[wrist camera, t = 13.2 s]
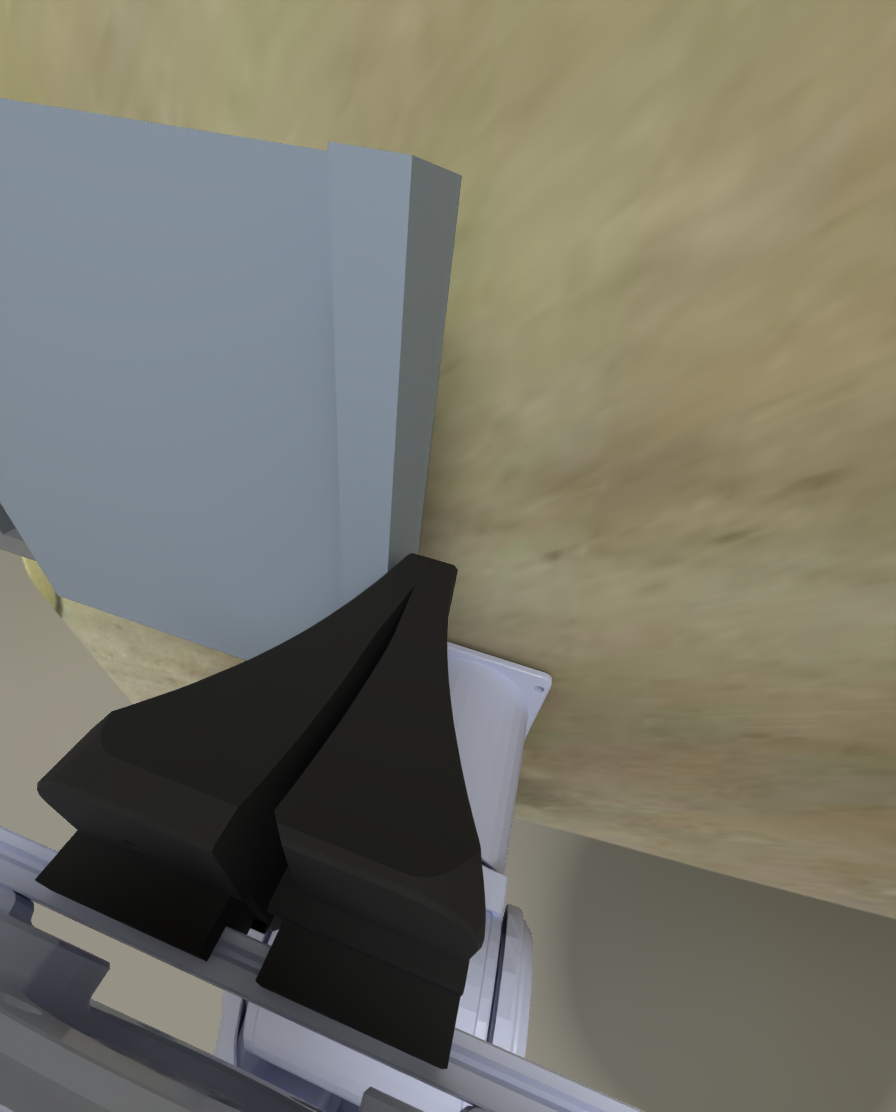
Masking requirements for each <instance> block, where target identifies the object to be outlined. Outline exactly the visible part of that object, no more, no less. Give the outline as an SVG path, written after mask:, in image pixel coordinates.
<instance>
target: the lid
mask: <svg viewBox="0 0 896 1112" xmlns="http://www.w3.org/2000/svg"><path fill="white" fill-rule="evenodd" d="M461 179H462V176H461V175H459V174H456V173H454V172H452V171H449V170H447V169H444V168H442V167H440V166H437V165H435V164H432V163H430V162H428V161H425V160H423V159H420V158H418V157H416V156H413V155H408V154H402V153H396V152H389V151H383V150H377V149H371V148H364V147H358V146H352V145H345V144H339V143H333V142H328V151H325V150H319V149H312V148H306V147H300V146H294V145H288V144H281V143H275V142H269V141H263V140H257V139H251V138H244V137H238V136H232V135H226V134H220V133H213V132H207V131H201V130H195V129H189V128H182V127H176V126H170V125H164V124H158V123H152V122H145V121H139V120H133V119H127V118H121V117H114V116H108V115H102V114H96V113H90V112H84V111H77V110H71V109H65V108H59V107H53V106H46V105H40V104H34V103H28V102H22V101H15V100H9V99H3V98H0V503H1V505H2V506H3V508H4V510H5V511H6V513H7V514H8V516H9V518H10V519H11V521H12V522H13V524H14V526H15V527H16V529H17V530H18V532H19V534H20V535H21V537H22V538H23V540H24V542H25V543H26V545H27V546H28V548H29V550H30V551H31V553H32V554H33V556H34V558H35V559H36V561H37V562H38V564H39V566H40V567H41V569H42V570H43V572H44V574H45V575H46V577H47V579H48V580H49V582H50V583H51V585H52V587H53V588H54V590H55V591H56V593H57V595H58V596H61V597H64V598H67V599H70V600H73V601H76V602H79V603H81V604H84V605H87V606H90V607H93V608H96V609H99V610H102V611H105V612H107V613H110V614H113V615H116V616H119V617H122V618H125V619H128V620H131V621H134V622H136V623H139V624H142V625H145V626H148V627H151V628H154V629H157V630H160V631H163V632H165V633H168V634H171V635H174V636H177V637H180V638H183V639H186V640H189V641H191V642H194V643H197V644H200V645H203V646H206V647H209V648H212V649H215V650H218V651H220V652H223V653H226V654H229V655H232V656H235V657H238V658H241V659H244V660H249V659H251V658H253V657H255V656H257V655H259V654H261V653H263V652H265V651H267V650H269V649H271V648H273V647H275V646H277V645H279V644H281V643H283V642H285V641H287V640H289V639H290V638H292V637H294V636H296V635H298V634H299V633H301V632H303V631H305V630H306V629H308V628H310V627H311V626H313V625H315V624H316V623H318V622H319V621H321V620H323V619H324V618H326V617H327V616H329V615H330V614H332V613H333V612H335V611H336V610H338V609H339V608H341V607H342V606H344V605H345V604H347V603H348V602H349V601H351V600H352V599H354V598H355V597H356V596H358V595H359V594H360V593H362V592H363V591H364V590H366V589H367V588H368V587H370V586H371V585H372V584H374V583H375V582H376V581H377V580H379V579H380V578H381V577H382V576H384V575H385V574H386V573H387V572H388V571H390V570H391V569H392V568H393V567H394V566H396V565H397V564H398V563H399V562H400V561H401V560H402V559H404V558H405V557H406V556H407V555H409V554H411V553H414V554H417V555H418V550H419V542H420V533H421V524H422V516H423V507H424V499H425V490H426V481H427V473H428V464H429V455H430V447H431V438H432V429H433V421H434V412H435V403H436V395H437V386H438V378H439V369H440V360H441V352H442V343H443V334H444V326H445V317H446V308H447V300H448V291H449V283H450V274H451V265H452V257H453V248H454V239H455V231H456V222H457V213H458V205H459V196H460V187H461Z"/></svg>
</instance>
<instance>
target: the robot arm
mask: <svg viewBox="0 0 896 1112" xmlns="http://www.w3.org/2000/svg"><path fill="white" fill-rule="evenodd" d="M457 571H458V570H457V568H456V567H455V566H454V565H451V564H448V563H445V562H441V561H438V560H434V559H431V558H428V557H424V556H421V555H417V554H414V553H411V554H409V555H407V556H406V557H405V558H404V559H402V560H401V561H400V562H399V563H398V564H397V565H396V566H394V567H393V568H392V569H391V570H390V571H388V572H387V573H386V574H385V575H384V576H382V577H381V578H380V579H379V580H377V581H376V582H375V583H374V584H372V585H371V586H370V587H368V588H367V589H366V590H364V591H363V592H362V593H360V594H359V595H358V596H356V597H355V598H354V599H352V600H351V601H349V602H348V603H347V604H345V605H344V606H342V607H341V608H339V609H338V610H336V611H335V612H333V613H332V614H330V615H329V616H327V617H326V618H324V619H323V620H321V621H319V622H318V623H316V624H315V625H313V626H311V627H310V628H308V629H306V630H305V631H303V632H301V633H299V634H298V635H296V636H294V637H292V638H290V639H289V640H287V641H285V642H283V643H281V644H279V645H277V646H275V647H273V648H271V649H269V650H267V651H265V652H263V653H261V654H259V655H257V656H255V657H253V658H251V659H249V660H247V661H245V662H243V663H240V664H238V665H236V666H234V667H231V668H229V669H226V670H224V671H222V672H219V673H217V674H214V675H212V676H210V677H207V678H205V679H202V680H200V681H198V682H195V683H193V684H190V685H188V686H185V687H182V688H180V689H177V690H174V691H171V692H168V693H165V694H162V695H159V696H157V697H154V698H151V699H148V700H145V701H142V702H139V703H136V704H133V705H131V706H128V707H125V708H121V709H118V710H115V711H112V712H111V713H110V714H108V715H107V716H106V717H105V718H104V719H103V720H102V721H100V722H99V723H98V724H97V725H96V726H95V727H94V728H92V729H91V730H90V731H89V732H88V733H87V734H86V735H85V736H84V737H83V738H82V739H81V740H80V741H79V742H78V743H77V744H76V745H75V746H74V747H73V748H72V749H71V750H70V751H69V752H68V753H67V754H66V755H65V756H64V757H63V758H62V759H61V760H60V761H59V762H58V763H57V764H56V765H55V766H54V767H53V768H52V769H51V770H50V771H49V772H48V773H47V774H46V775H45V776H44V777H43V778H42V779H41V780H40V781H39V782H38V785H37V790H38V793H39V795H40V796H41V797H42V798H43V799H44V800H45V801H46V802H47V803H48V804H49V805H50V806H51V807H52V808H53V809H54V810H56V811H57V812H58V813H59V814H60V815H61V816H63V818H65V819H66V820H67V821H68V822H69V823H70V824H71V825H73V826H74V827H75V828H76V829H77V830H78V831H77V832H76V833H75V834H74V835H73V836H72V837H71V839H70V840H69V841H68V842H67V843H66V844H65V845H64V847H63V848H62V849H61V850H60V851H59V852H58V851H55V850H53V849H51V848H48V847H46V846H44V845H42V844H40V843H37V842H35V841H33V840H31V839H28V838H26V837H24V836H21V835H19V834H17V833H14V832H12V831H10V830H8V829H6V828H3V827H1V826H0V1112H645V1111H643V1110H641V1109H638V1108H636V1107H634V1106H632V1105H629V1104H627V1103H625V1102H623V1101H620V1100H618V1099H616V1098H614V1097H611V1096H609V1095H607V1094H604V1093H602V1092H600V1091H598V1090H595V1089H593V1088H591V1087H589V1086H586V1085H584V1084H582V1083H580V1082H577V1081H575V1080H573V1079H571V1078H568V1077H566V1076H564V1075H562V1074H559V1073H557V1072H555V1071H553V1070H550V1069H548V1068H546V1067H544V1066H541V1065H539V1064H537V1063H534V1062H532V1061H530V1060H528V1059H525V1052H526V1043H527V1033H528V1024H529V1013H530V1000H531V986H532V967H533V966H532V965H533V942H532V941H533V940H532V933H531V931H530V929H529V927H528V925H527V923H526V921H525V920H524V919H523V912H522V910H521V909H520V908H519V907H516V906H513V905H510V904H507V905H506V908H505V912H504V916H503V911H504V904H505V897H506V890H507V883H508V877H507V876H506V875H504V873H505V866H506V859H507V853H508V846H509V840H510V833H511V827H512V820H513V813H514V807H515V800H516V793H517V787H518V780H519V773H520V767H521V760H522V753H523V746H524V740H525V738H526V736H527V734H528V732H529V730H530V728H531V726H532V724H533V722H534V720H535V718H536V716H537V714H538V712H539V710H540V708H541V706H542V704H543V702H544V700H545V698H546V696H547V694H548V692H549V690H550V688H551V684H552V678H551V676H550V675H549V674H547V673H545V672H542V671H538V670H535V669H532V668H529V667H526V666H523V665H519V664H516V663H513V662H510V661H507V660H504V659H500V658H497V657H494V656H491V655H488V654H485V653H482V652H478V651H475V650H472V649H469V648H466V647H463V646H459V645H456V644H453V643H450V642H447V628H448V615H449V610H450V605H451V601H452V596H453V591H454V586H455V581H456V576H457ZM31 900H32V901H34V902H36V903H38V904H40V905H42V906H44V907H47V908H49V909H51V910H53V911H56V912H57V913H59V914H62V915H64V916H66V917H68V918H70V919H72V920H75V921H77V922H79V923H81V924H83V925H85V926H88V927H90V928H92V929H94V930H96V931H98V932H100V933H103V934H105V935H107V936H109V937H111V938H113V939H115V940H118V941H120V942H122V943H124V944H126V945H128V946H130V947H133V948H135V949H137V950H139V951H141V952H144V953H146V954H148V955H150V956H152V957H154V958H156V959H158V960H161V961H163V962H165V963H167V964H169V965H171V966H174V967H176V968H178V969H180V970H182V971H184V972H187V973H189V974H191V975H193V976H195V977H197V978H199V979H202V980H204V981H206V982H208V983H210V984H212V985H214V986H217V987H219V988H221V989H223V995H222V1014H221V1021H220V1027H219V1031H218V1036H217V1041H216V1045H215V1049H214V1053H213V1055H211V1054H209V1053H207V1052H205V1051H203V1050H201V1049H198V1048H196V1047H194V1046H192V1045H190V1044H188V1043H186V1042H184V1041H181V1040H179V1039H177V1038H175V1037H173V1036H170V1035H168V1034H166V1033H164V1032H162V1031H160V1030H158V1029H155V1028H153V1027H151V1026H149V1025H147V1024H145V1023H142V1022H140V1021H138V1020H136V1019H134V1018H132V1017H129V1016H127V1015H125V1014H123V1013H121V1012H119V1011H116V1010H114V1009H112V1008H110V1007H108V1006H105V1005H103V1004H101V1003H99V1002H97V1001H95V1000H93V999H91V997H92V995H93V993H94V992H95V990H96V988H97V987H98V985H99V984H100V983H101V981H102V979H103V978H104V977H105V975H106V973H107V972H108V970H109V969H110V965H109V964H110V963H109V962H107V961H105V960H103V959H101V958H99V957H97V956H95V955H93V954H91V953H89V952H87V951H85V950H83V949H80V948H78V947H76V946H74V945H72V944H70V943H68V942H65V941H63V940H61V939H59V938H57V937H55V936H53V935H51V934H48V933H46V932H44V931H42V930H40V929H38V928H35V927H34V926H33V925H32V923H31V917H32V914H33V912H34V903H33V902H32V901H31ZM502 917H503V921H502Z"/></svg>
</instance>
